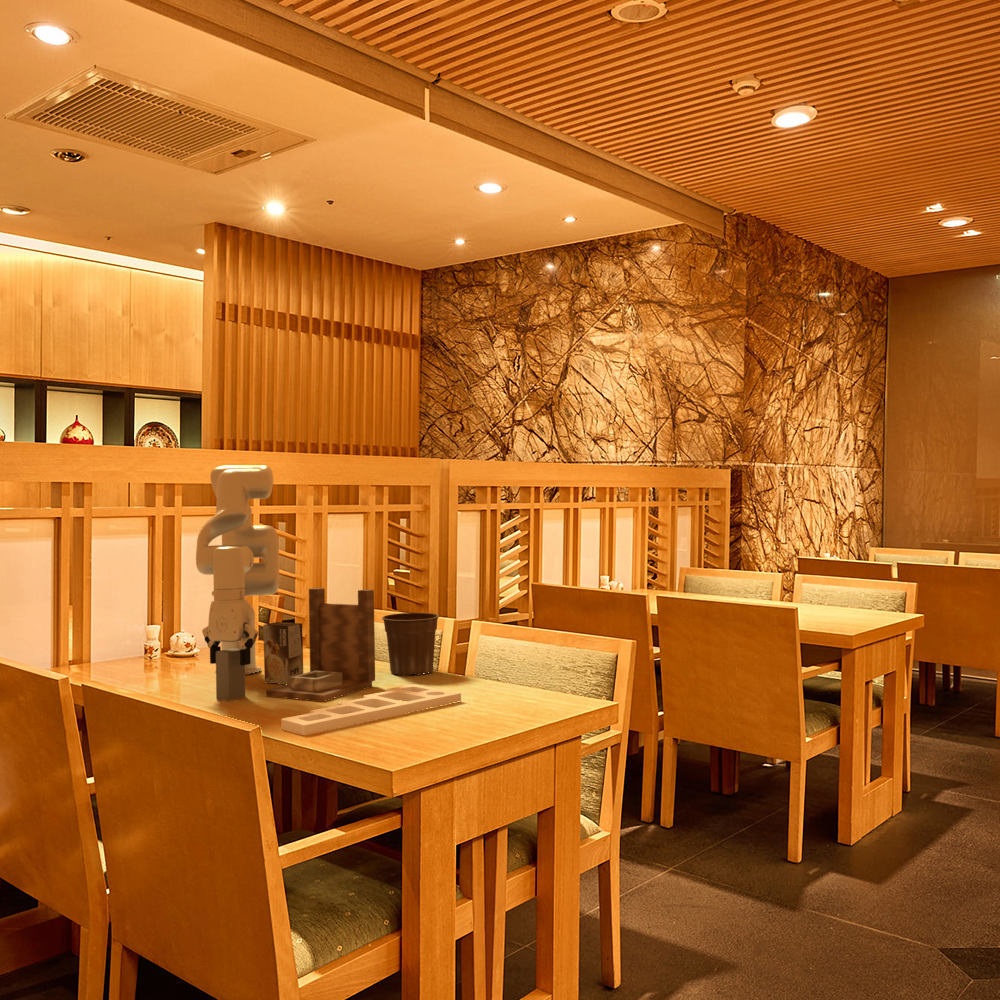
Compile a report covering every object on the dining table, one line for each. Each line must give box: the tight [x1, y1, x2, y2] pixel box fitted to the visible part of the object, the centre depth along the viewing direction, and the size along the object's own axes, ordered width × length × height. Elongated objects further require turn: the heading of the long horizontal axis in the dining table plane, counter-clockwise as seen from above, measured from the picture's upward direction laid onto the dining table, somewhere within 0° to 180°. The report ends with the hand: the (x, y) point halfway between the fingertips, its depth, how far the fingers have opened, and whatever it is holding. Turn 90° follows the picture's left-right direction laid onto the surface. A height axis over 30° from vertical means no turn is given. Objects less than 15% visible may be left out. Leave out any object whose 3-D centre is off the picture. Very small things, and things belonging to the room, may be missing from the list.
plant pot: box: [381, 612, 440, 676], centre depth 278 cm, size 16×16×16 cm
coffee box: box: [262, 621, 304, 685], centre depth 266 cm, size 9×6×16 cm
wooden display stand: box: [265, 587, 376, 702], centre depth 253 cm, size 19×22×26 cm
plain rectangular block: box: [215, 648, 246, 702], centre depth 245 cm, size 4×6×12 cm, turn 154°
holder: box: [280, 683, 462, 736], centre depth 226 cm, size 45×18×3 cm, turn 135°
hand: (230, 663), depth 245 cm, fingers open, 9 cm apart
